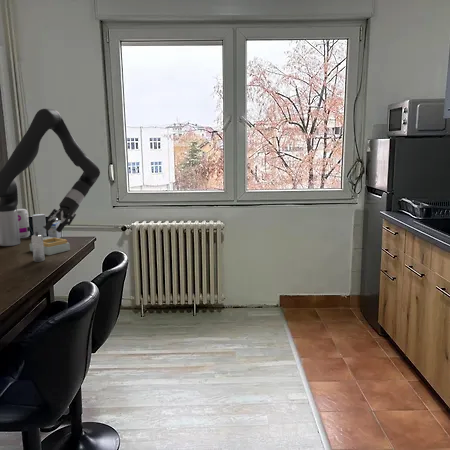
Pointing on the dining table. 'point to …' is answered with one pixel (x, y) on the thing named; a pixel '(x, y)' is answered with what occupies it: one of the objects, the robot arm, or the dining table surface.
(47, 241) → the bottle holder tray
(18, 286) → the dining table surface
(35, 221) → the skincare box
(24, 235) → the supplement can
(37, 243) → the grey tall cylinder
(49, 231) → the medicine box
